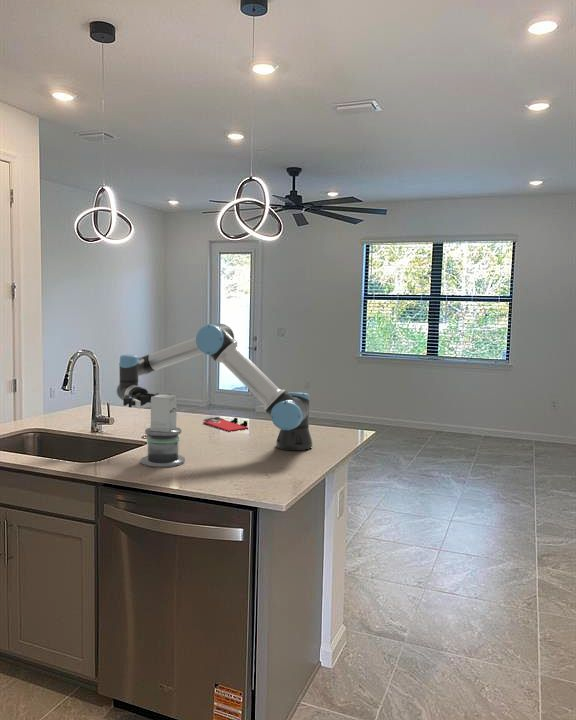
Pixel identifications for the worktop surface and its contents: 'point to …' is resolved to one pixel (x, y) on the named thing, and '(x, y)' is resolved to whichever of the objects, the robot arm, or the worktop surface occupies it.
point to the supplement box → (163, 412)
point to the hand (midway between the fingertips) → (157, 403)
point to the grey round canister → (162, 449)
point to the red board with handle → (226, 424)
